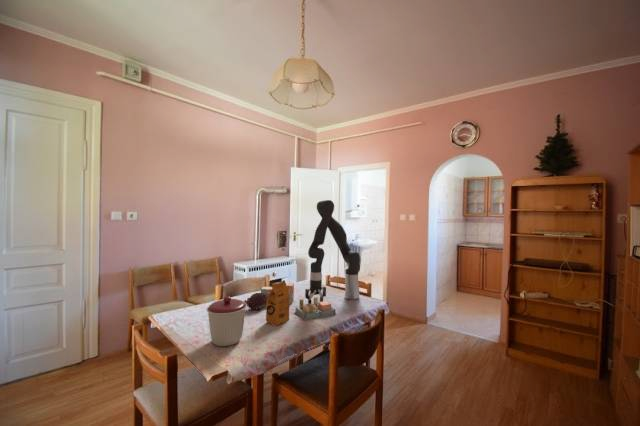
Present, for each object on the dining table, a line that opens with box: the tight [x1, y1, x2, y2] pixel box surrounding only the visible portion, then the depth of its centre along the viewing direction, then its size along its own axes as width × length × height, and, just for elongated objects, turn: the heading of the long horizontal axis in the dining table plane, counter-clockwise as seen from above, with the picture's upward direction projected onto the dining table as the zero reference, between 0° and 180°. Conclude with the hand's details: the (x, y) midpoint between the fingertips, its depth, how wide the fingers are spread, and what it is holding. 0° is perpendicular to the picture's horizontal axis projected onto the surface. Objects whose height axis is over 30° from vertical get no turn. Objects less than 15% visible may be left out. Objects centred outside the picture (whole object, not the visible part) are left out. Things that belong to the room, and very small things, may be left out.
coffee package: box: [265, 279, 290, 326], centre depth 153 cm, size 10×12×22 cm
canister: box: [205, 295, 248, 347], centre depth 129 cm, size 18×18×21 cm
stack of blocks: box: [260, 282, 295, 305], centre depth 186 cm, size 21×6×12 cm, turn 87°
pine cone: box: [243, 292, 268, 311], centre depth 172 cm, size 18×10×10 cm, turn 132°
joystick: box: [313, 296, 332, 311], centre depth 171 cm, size 6×16×6 cm, turn 28°
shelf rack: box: [295, 306, 336, 321], centre depth 167 cm, size 20×14×3 cm
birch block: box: [298, 298, 318, 314], centre depth 167 cm, size 6×16×6 cm, turn 28°
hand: (315, 304), depth 177 cm, fingers open, 7 cm apart
